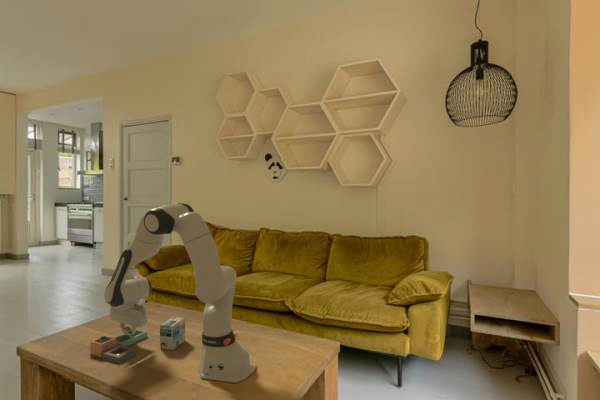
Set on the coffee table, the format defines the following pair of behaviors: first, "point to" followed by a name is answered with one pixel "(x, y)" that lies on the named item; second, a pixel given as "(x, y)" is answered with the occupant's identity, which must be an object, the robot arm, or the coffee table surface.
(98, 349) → the open cubby frame
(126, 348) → the gray square frame
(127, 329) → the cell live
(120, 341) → the trough
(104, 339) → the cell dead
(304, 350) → the coffee table surface
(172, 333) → the light bulb box
